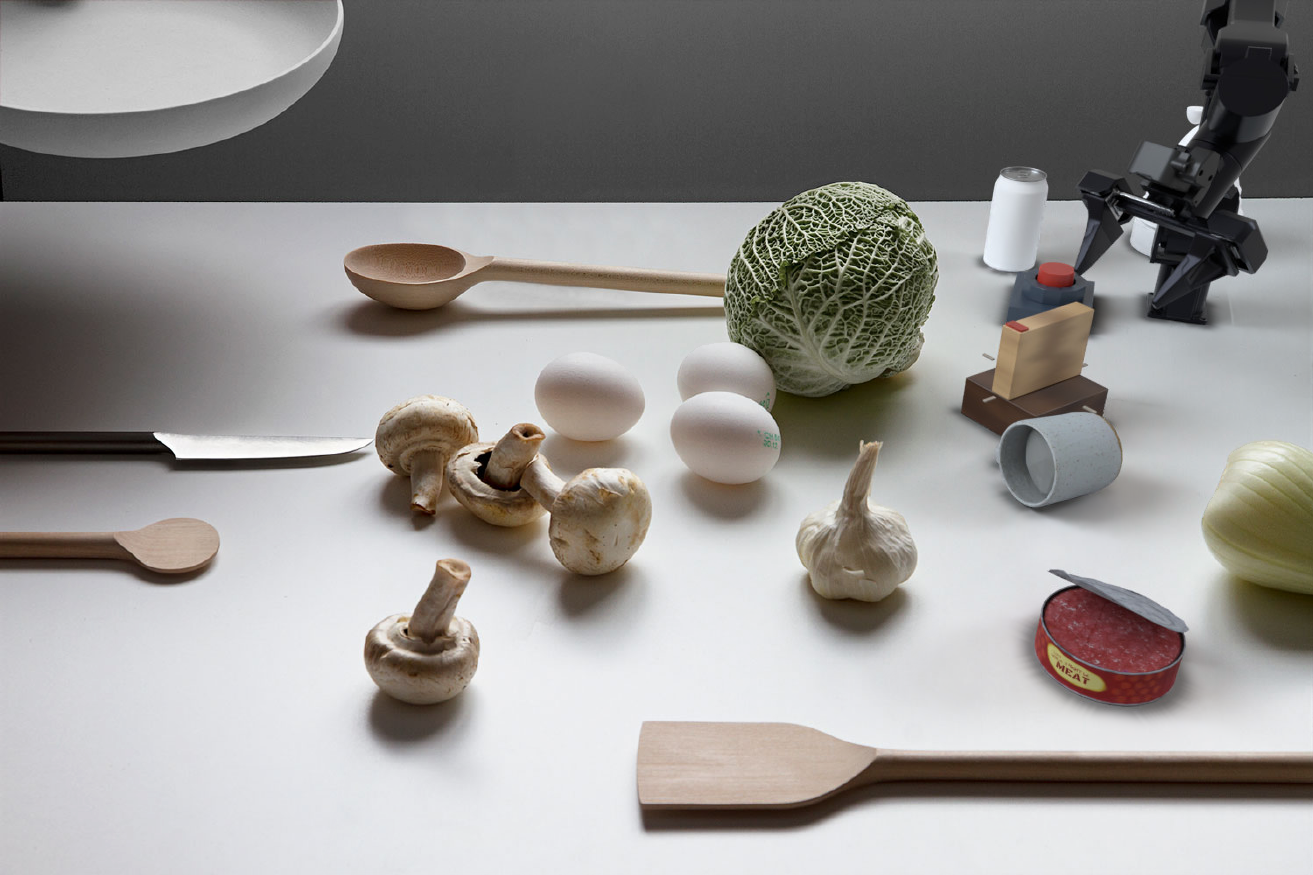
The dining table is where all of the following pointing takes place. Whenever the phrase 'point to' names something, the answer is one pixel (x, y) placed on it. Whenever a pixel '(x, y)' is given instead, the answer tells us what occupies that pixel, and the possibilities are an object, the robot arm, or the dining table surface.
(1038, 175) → the can
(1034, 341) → the tan wooden flat block
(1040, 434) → the ceramic mug
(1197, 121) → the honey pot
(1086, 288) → the button block
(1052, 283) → the button
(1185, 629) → the canned food
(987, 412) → the wooden block
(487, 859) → the dining table surface
